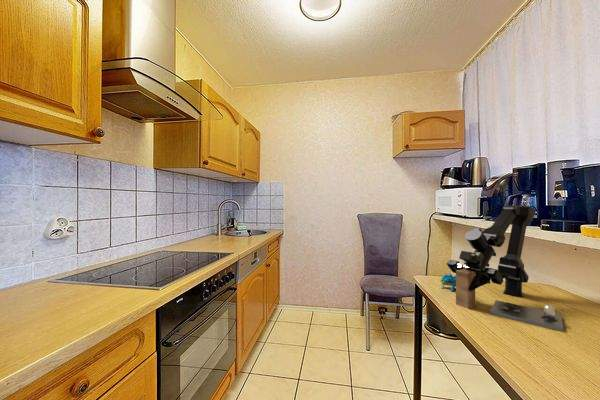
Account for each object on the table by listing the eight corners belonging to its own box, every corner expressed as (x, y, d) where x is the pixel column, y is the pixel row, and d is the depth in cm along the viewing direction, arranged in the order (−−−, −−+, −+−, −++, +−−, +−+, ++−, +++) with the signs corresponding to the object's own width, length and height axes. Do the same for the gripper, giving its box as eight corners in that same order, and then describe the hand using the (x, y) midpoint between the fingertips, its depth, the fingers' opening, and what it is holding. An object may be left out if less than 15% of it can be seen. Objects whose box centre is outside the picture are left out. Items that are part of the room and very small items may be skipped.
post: (463, 302, 101) (463, 269, 101) (475, 306, 97) (475, 272, 97) (455, 304, 99) (455, 270, 100) (467, 308, 95) (467, 273, 95)
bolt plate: (495, 303, 101) (495, 289, 101) (561, 317, 88) (561, 302, 88) (490, 314, 90) (490, 299, 91) (563, 331, 78) (563, 314, 78)
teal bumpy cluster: (472, 288, 114) (461, 273, 111) (469, 299, 111) (458, 285, 108) (446, 284, 123) (436, 271, 120) (443, 295, 120) (432, 282, 117)
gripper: (449, 240, 109) (431, 269, 104) (498, 247, 92) (479, 282, 87) (461, 257, 112) (444, 286, 107) (511, 267, 95) (493, 302, 90)
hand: (463, 288), depth 98 cm, fingers closed on post, 4 cm apart
